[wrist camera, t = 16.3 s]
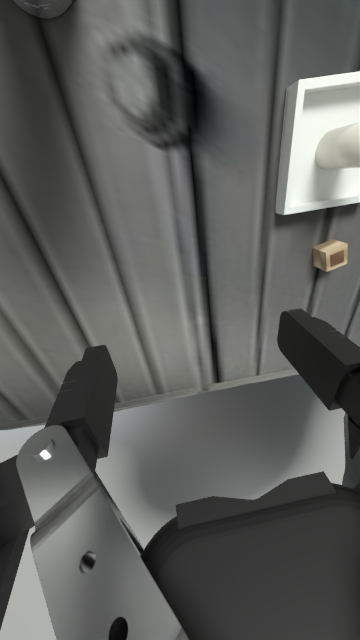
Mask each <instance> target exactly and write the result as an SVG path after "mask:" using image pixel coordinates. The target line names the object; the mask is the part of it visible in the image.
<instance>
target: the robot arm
mask: <svg viewBox="0 0 360 640" xmlns="http://www.w3.org/2000/svg"><path fill="white" fill-rule="evenodd" d="M12 1H14V2H15V3H16V4H17V5H18V6H19V7H20V8H21V9H23V10H25V11H26V12H28V13H29V14H31V15H33V16H36V17H39V18H49V19H50V18H54V17H57V16H59V15H61V14H62V13H63V12H65V11H66V10H67V8H68V7H69V6H70V4H71V3H72V1H73V0H12ZM277 342H278V346H279V349H280V351H281V352H282V353H283V355H284V356H285V357H286V358H287V359H288V361H289V362H290V363H291V364H292V366H293V367H294V368H295V369H296V371H297V372H298V373H299V374H300V375H301V377H302V378H303V379H304V380H305V382H306V383H307V384H308V385H309V386H310V388H311V389H312V390H313V391H314V393H315V394H316V395H317V396H318V397H319V399H320V400H321V401H322V402H323V404H324V405H325V406H326V407H327V409H328V410H335V409H339V408H342V409H343V410H344V411H345V412H346V413H345V416H344V437H345V472H344V476H343V481H342V485H339V484H334V483H330V481H329V479H328V478H327V477H326V475H325V473H324V472H319V473H314V474H310V475H305V476H301V477H297V478H292V479H288V480H286V481H285V482H283V483H282V484H280V485H279V486H277V487H275V488H274V489H272V490H271V491H269V492H268V493H266V494H264V495H263V496H261V497H260V498H258V499H256V500H246V499H236V498H225V497H215V496H212V497H208V498H203V499H199V500H195V501H191V502H186V503H181V504H177V505H176V511H177V516H176V517H175V518H173V519H172V520H170V521H169V522H168V523H166V524H165V525H164V526H163V527H162V528H161V529H160V530H159V531H158V532H157V533H156V534H155V535H154V536H153V538H152V539H151V540H150V542H149V543H148V544H147V546H146V547H145V549H144V548H143V546H142V545H141V543H140V541H139V540H138V538H137V537H136V535H135V533H134V532H133V530H132V529H131V527H130V526H129V524H128V523H127V521H126V520H125V518H124V517H123V515H122V514H121V512H120V510H119V509H118V507H117V506H116V504H115V502H114V501H113V499H112V497H111V496H110V494H109V492H108V491H107V489H106V488H105V486H104V484H103V483H102V481H101V480H100V478H99V477H98V475H97V473H96V472H95V468H96V462H97V459H99V458H103V457H107V456H108V449H109V441H110V434H111V426H112V418H113V412H114V404H115V397H116V389H117V373H116V369H115V367H114V364H113V362H112V359H111V357H110V354H109V352H108V349H107V347H106V346H105V345H101V346H95V347H90V348H86V350H85V353H84V355H83V358H82V361H78V362H75V364H74V365H73V366H72V367H71V368H70V369H69V370H68V372H67V374H66V376H65V379H64V381H63V384H62V386H61V389H60V393H59V394H58V396H57V398H56V401H55V403H54V406H53V408H52V411H51V413H50V416H49V418H48V421H47V423H46V425H45V428H44V429H42V430H40V431H38V432H37V433H35V434H34V435H33V436H31V437H30V439H28V440H27V442H26V443H25V444H24V445H23V446H22V448H21V450H20V451H19V454H18V455H16V456H14V457H12V458H10V459H8V460H6V461H4V462H2V463H0V629H1V626H2V622H3V618H4V615H5V612H6V608H7V605H8V601H9V598H10V594H11V591H12V587H13V584H14V581H15V577H16V573H17V570H18V567H19V563H20V560H21V556H22V552H23V549H24V546H25V542H26V539H27V535H28V532H29V529H30V528H32V527H33V526H35V528H36V530H35V532H34V533H33V534H32V535H31V538H30V544H31V550H32V553H33V557H34V561H35V564H36V568H37V571H38V575H39V579H40V582H41V586H42V589H43V593H44V596H45V600H46V603H47V607H48V611H49V614H50V618H51V622H52V625H53V629H54V632H55V636H56V639H57V640H360V347H359V346H357V345H356V344H355V343H353V342H352V341H351V340H349V339H348V338H347V337H344V335H343V334H341V333H340V332H339V331H336V329H335V328H334V327H332V326H331V325H330V324H328V323H327V322H325V321H322V320H320V319H318V318H315V317H311V316H310V315H309V314H308V313H306V312H305V311H304V310H302V309H294V310H289V311H284V312H282V313H281V316H280V323H279V330H278V338H277Z"/></svg>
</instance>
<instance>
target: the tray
mask: <svg viewBox="0 0 360 640" xmlns="http://www.w3.org/2000/svg"><path fill="white" fill-rule="evenodd" d="M357 122H360V71H359V72H352V73H344V74H337V75H330V76H323V77H316V78H308V79H301V80H298V81H296V82H295V83H293V84H292V85H290V86H289V87H287V88H286V97H285V108H284V119H283V130H282V141H281V152H280V163H279V174H278V185H277V196H276V207H275V213H277V214H281V215H287V214H293V213H299V212H305V211H311V210H317V209H323V208H329V207H335V206H341V205H347V204H353V203H359V202H360V168H346V169H332V170H323V169H320V168H319V167H318V166H317V164H316V160H315V152H316V148H317V146H318V143H319V141H320V140H321V138H322V137H323V136H324V135H325V134H326V133H327V132H329V131H330V130H333V129H336V128H339V127H343V126H346V125H350V124H353V123H357Z"/></svg>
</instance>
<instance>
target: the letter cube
mask: <svg viewBox="0 0 360 640" xmlns="http://www.w3.org/2000/svg"><path fill="white" fill-rule="evenodd" d="M347 246H348V244H347V243H343V242H340V241H336V240H333V239H332V240H329V241H327V242H325V243H322V244H320V245H318V246H315V247H313V263H314V266H315V267H317V268H320V269H322V270H324V271H326V272H328V271H330V270H333V269H335V268H337V267H340V266H342V265H345V264H347Z"/></svg>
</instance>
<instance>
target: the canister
mask: <svg viewBox="0 0 360 640" xmlns="http://www.w3.org/2000/svg"><path fill="white" fill-rule="evenodd" d="M315 160H316V164H317V166H318V167H319V168H320V169H323V170H332V169H346V168H360V122H357V123H353V124H350V125H346V126H343V127H339V128H336V129H333V130H330V131H329V132H327V133H326V134H325V135H324V136H323V137H322V138H321V140H320V141H319V143H318V146H317V148H316V152H315Z"/></svg>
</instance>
